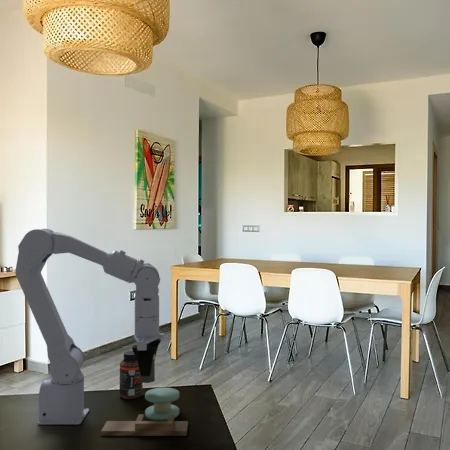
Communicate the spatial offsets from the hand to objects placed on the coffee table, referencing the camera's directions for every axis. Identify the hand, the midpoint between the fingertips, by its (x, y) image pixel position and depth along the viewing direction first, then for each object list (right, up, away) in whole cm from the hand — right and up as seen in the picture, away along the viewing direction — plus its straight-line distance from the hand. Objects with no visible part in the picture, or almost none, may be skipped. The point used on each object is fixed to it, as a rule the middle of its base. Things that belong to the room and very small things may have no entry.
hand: (147, 372), depth 111 cm
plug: (0, -2, 0) cm, 2 cm away
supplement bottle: (-6, -10, +11) cm, 16 cm away
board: (+1, -10, -9) cm, 13 cm away
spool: (+4, -10, 0) cm, 10 cm away
